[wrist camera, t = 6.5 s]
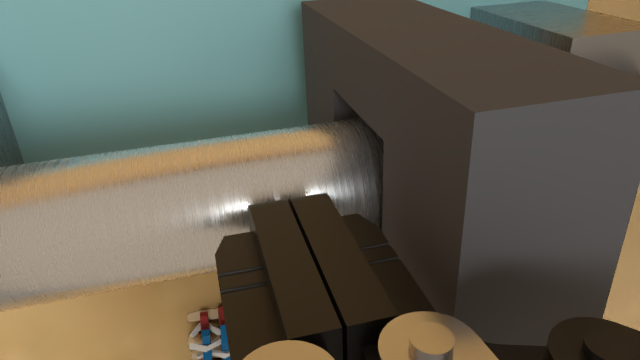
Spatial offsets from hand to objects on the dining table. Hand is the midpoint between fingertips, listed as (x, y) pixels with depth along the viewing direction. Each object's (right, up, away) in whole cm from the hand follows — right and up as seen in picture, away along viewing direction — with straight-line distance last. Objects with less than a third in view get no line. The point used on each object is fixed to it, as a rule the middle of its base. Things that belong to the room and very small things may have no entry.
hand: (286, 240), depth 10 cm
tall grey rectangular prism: (+2, +4, +7) cm, 8 cm away
